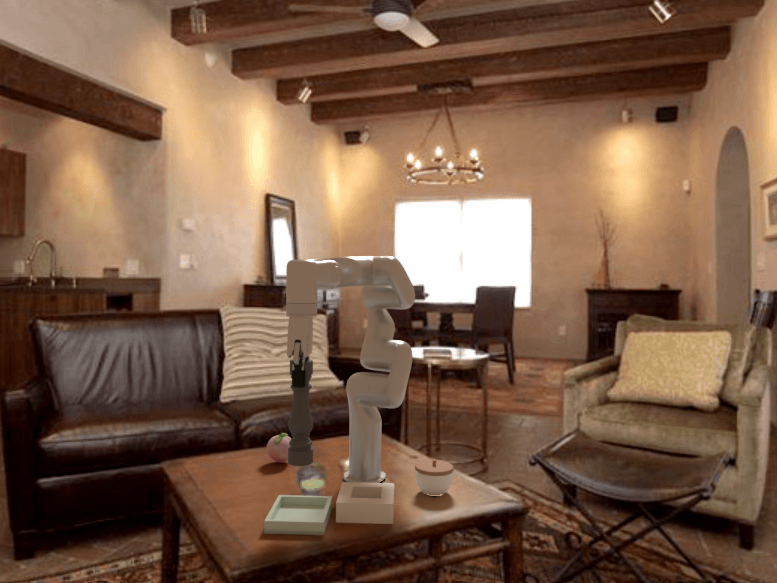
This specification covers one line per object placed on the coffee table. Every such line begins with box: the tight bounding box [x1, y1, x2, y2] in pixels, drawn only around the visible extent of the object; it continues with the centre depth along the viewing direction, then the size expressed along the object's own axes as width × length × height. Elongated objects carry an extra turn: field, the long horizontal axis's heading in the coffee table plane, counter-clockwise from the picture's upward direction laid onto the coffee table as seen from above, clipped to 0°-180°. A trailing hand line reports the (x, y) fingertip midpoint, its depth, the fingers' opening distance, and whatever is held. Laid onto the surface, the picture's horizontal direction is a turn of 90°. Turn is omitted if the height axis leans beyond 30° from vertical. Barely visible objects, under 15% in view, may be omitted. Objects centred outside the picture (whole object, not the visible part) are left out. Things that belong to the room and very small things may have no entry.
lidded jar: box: [414, 458, 454, 495], centre depth 165 cm, size 11×11×9 cm
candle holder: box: [287, 359, 314, 467], centre depth 145 cm, size 6×6×25 cm
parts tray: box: [263, 494, 333, 536], centre depth 146 cm, size 16×14×3 cm
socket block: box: [335, 481, 395, 525], centre depth 151 cm, size 14×14×5 cm
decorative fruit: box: [266, 432, 292, 464], centre depth 188 cm, size 9×8×10 cm
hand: (301, 383), depth 144 cm, fingers closed on candle holder, 5 cm apart
